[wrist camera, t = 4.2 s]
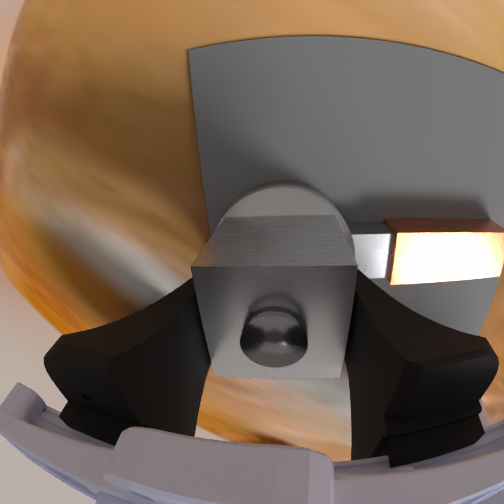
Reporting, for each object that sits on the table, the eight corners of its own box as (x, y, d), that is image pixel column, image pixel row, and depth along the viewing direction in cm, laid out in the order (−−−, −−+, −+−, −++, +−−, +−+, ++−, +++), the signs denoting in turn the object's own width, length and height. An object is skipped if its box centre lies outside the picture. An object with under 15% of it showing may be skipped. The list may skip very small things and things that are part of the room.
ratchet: (475, 287, 15) (504, 323, 11) (228, 298, 17) (212, 345, 13) (495, 187, 12) (538, 208, 8) (212, 184, 14) (183, 207, 11)
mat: (474, 339, 17) (475, 341, 16) (233, 356, 20) (232, 359, 20) (514, 79, 8) (516, 79, 8) (190, 51, 12) (188, 50, 11)
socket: (329, 307, 13) (340, 390, 9) (235, 307, 14) (210, 387, 9) (335, 215, 11) (362, 276, 7) (225, 217, 12) (183, 276, 7)
